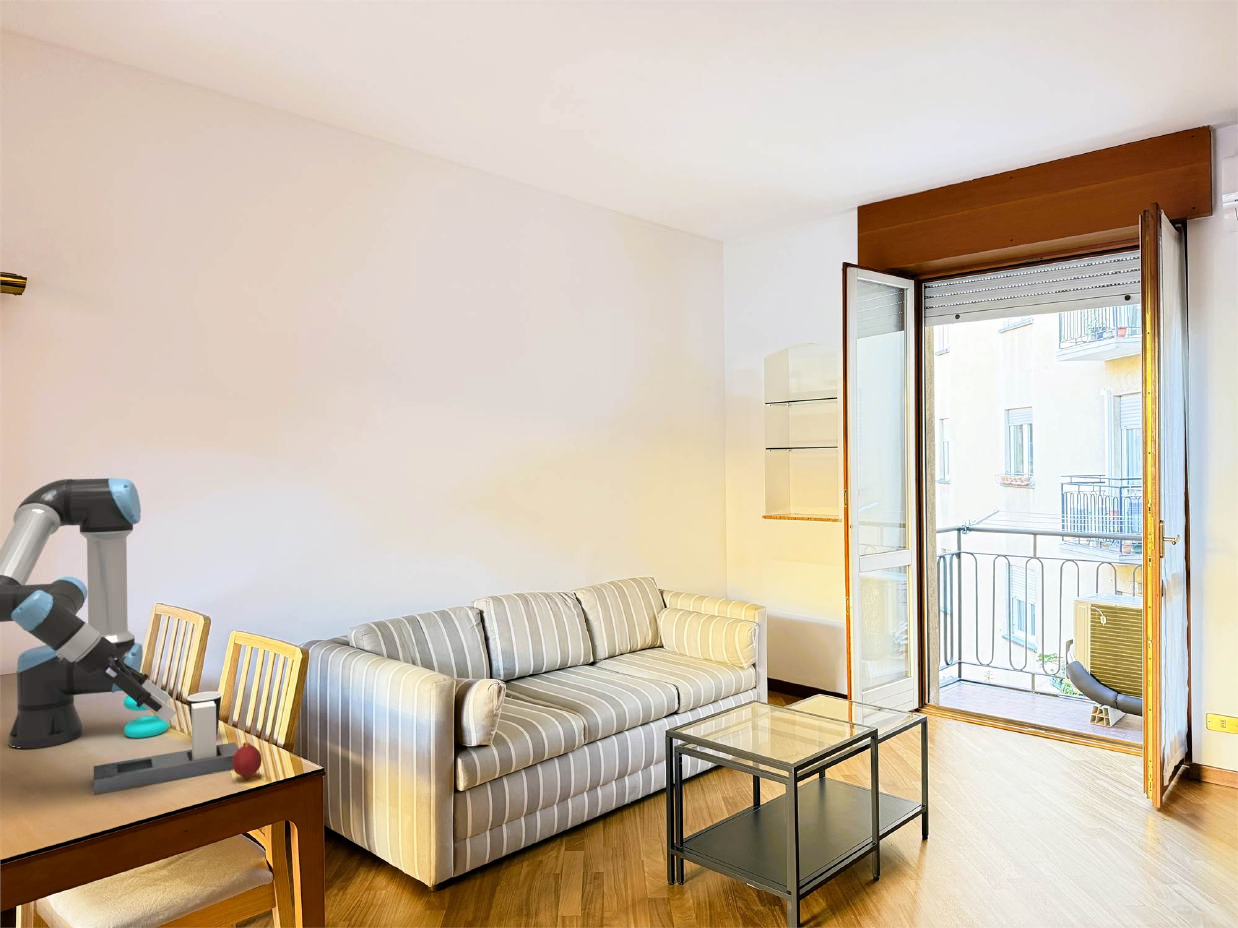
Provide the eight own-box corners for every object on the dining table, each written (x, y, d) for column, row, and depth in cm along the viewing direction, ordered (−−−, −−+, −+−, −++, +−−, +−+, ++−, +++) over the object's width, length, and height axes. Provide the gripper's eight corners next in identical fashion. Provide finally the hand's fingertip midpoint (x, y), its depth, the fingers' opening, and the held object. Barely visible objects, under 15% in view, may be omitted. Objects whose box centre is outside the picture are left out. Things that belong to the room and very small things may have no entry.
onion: (238, 774, 184) (237, 737, 184) (265, 772, 185) (265, 736, 185) (228, 783, 178) (227, 746, 178) (256, 782, 179) (255, 744, 179)
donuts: (173, 687, 220) (161, 697, 210) (174, 725, 220) (161, 737, 210) (131, 689, 218) (117, 700, 208) (132, 728, 218) (117, 740, 208)
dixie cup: (179, 743, 206) (179, 698, 206) (207, 733, 213) (206, 690, 213) (203, 747, 202) (202, 701, 202) (230, 737, 210) (229, 692, 210)
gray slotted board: (93, 794, 173) (93, 780, 173) (93, 779, 182) (93, 765, 182) (241, 767, 188) (241, 754, 188) (235, 754, 196) (235, 741, 196)
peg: (194, 772, 185) (193, 708, 186) (192, 766, 189) (191, 703, 189) (216, 768, 188) (215, 705, 188) (214, 762, 192) (213, 700, 192)
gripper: (72, 652, 185) (150, 709, 194) (72, 676, 164) (159, 739, 173) (100, 625, 188) (176, 682, 196) (103, 645, 167) (188, 709, 175)
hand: (169, 709), depth 185 cm, fingers open, 13 cm apart
